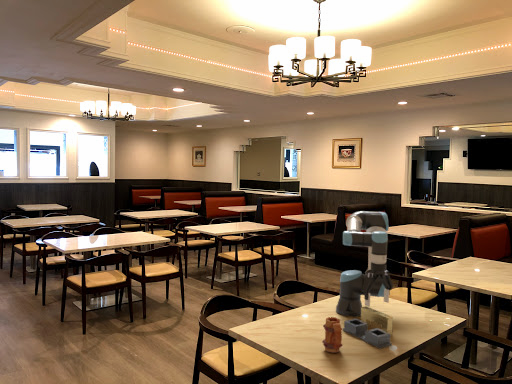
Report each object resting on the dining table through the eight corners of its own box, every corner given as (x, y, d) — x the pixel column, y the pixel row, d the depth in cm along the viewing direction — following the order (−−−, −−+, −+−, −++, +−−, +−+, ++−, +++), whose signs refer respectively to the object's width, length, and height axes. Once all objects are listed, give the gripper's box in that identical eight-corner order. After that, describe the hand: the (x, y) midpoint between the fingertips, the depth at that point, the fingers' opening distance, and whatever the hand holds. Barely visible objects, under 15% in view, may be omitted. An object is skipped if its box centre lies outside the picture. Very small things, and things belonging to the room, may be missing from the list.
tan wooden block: (360, 324, 217) (361, 307, 216) (365, 322, 219) (366, 306, 218) (386, 336, 202) (387, 318, 201) (391, 334, 204) (392, 317, 203)
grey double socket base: (342, 330, 208) (343, 320, 208) (354, 327, 212) (354, 317, 212) (379, 348, 188) (380, 338, 187) (391, 345, 192) (392, 334, 191)
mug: (320, 346, 189) (321, 313, 188) (337, 345, 190) (339, 313, 189) (328, 361, 174) (330, 326, 173) (347, 360, 175) (348, 326, 174)
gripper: (366, 266, 199) (364, 309, 200) (401, 261, 211) (399, 302, 213) (355, 263, 205) (353, 305, 206) (389, 258, 218) (387, 298, 219)
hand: (376, 303), depth 209 cm, fingers open, 13 cm apart
